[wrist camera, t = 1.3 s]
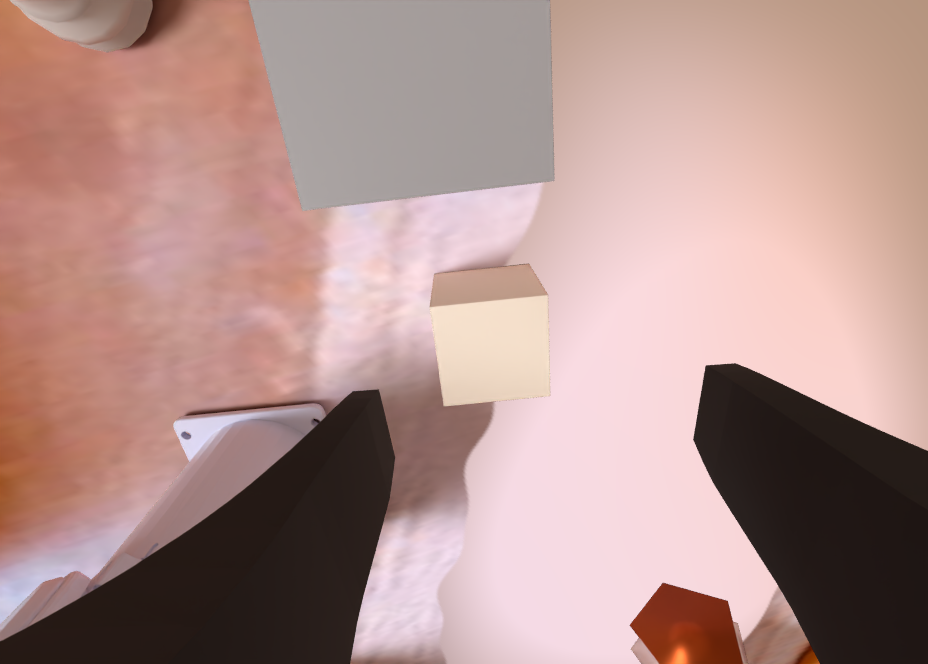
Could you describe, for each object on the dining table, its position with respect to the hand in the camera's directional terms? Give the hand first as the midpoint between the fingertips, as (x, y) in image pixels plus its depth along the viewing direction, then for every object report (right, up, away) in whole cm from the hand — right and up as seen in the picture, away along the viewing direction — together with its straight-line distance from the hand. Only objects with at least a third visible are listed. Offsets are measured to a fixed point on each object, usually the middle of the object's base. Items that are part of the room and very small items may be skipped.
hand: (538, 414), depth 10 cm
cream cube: (-1, +3, +12) cm, 12 cm away
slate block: (-4, +13, +7) cm, 15 cm away
